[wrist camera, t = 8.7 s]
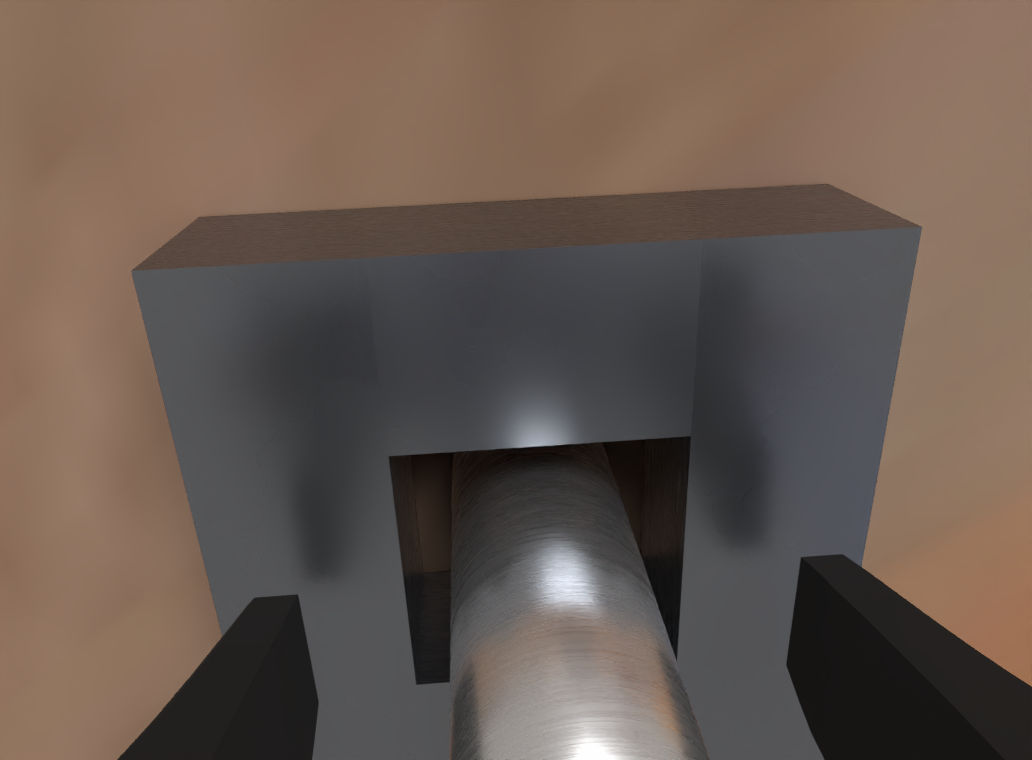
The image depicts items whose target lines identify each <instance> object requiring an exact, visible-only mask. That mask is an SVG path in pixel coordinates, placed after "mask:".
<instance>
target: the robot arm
mask: <svg viewBox="0 0 1032 760" xmlns="http://www.w3.org/2000/svg"><path fill="white" fill-rule="evenodd" d="M786 666H787V669H788V672H789V675H790V677H791V680H792V683H793V686H794V689H795V692H796V694H797V697H798V700H799V703H800V705H801V708H802V711H803V713H804V716H805V718H806V721H807V724H808V726H809V729H810V732H811V734H812V736H813V738H814V740H815V742H816V744H817V746H818V748H819V750H820V752H821V754H822V756H823V758H824V760H1032V687H1031V686H1030V685H1028V684H1027V683H1025V682H1024V681H1022V680H1020V679H1019V678H1017V677H1016V676H1014V675H1013V674H1011V673H1009V672H1008V671H1006V670H1005V669H1003V668H1002V667H1001V666H999V665H998V664H996V663H995V662H993V661H992V660H990V659H989V658H987V657H986V656H984V655H983V654H981V653H980V652H978V651H977V650H975V649H974V648H973V647H971V646H970V645H968V644H967V643H965V642H964V641H963V640H961V639H960V638H958V637H957V636H956V635H954V634H953V633H951V632H950V631H948V630H947V629H946V628H944V627H943V626H941V625H940V624H939V623H937V622H936V621H935V620H933V619H932V618H930V617H929V616H928V615H926V614H925V613H923V612H922V611H921V610H919V609H918V608H917V607H915V606H914V605H913V604H911V603H910V602H908V601H907V600H906V599H904V598H903V597H902V596H900V595H899V594H898V593H896V592H895V591H893V590H892V589H891V588H889V587H888V586H887V585H885V584H884V583H883V582H881V581H880V580H879V579H877V578H876V577H874V576H873V575H872V574H870V573H869V572H868V571H866V570H865V569H863V568H862V567H861V566H859V565H858V564H856V563H855V562H853V561H852V560H851V559H849V558H848V557H846V556H845V555H843V554H835V555H822V556H808V557H801V560H800V567H799V575H798V582H797V589H796V596H795V604H794V611H793V618H792V625H791V633H790V640H789V647H788V654H787V662H786ZM318 706H319V700H318V695H317V690H316V685H315V680H314V674H313V669H312V664H311V659H310V654H309V648H308V643H307V638H306V633H305V628H304V622H303V617H302V612H301V607H300V602H299V596H298V594H295V595H282V596H268V597H255V598H254V599H253V600H252V601H251V602H250V603H249V604H248V605H247V606H246V607H245V609H244V610H243V611H242V612H241V614H240V615H239V616H238V617H237V619H236V620H235V621H234V623H233V624H232V625H231V626H230V628H229V629H228V630H227V631H226V633H225V634H224V635H223V637H222V638H221V639H220V640H219V642H218V643H217V644H216V645H215V647H214V648H213V649H212V650H211V652H210V653H209V654H208V655H207V657H206V658H205V659H204V660H203V662H202V663H201V664H200V665H199V667H198V668H197V669H196V670H195V672H194V673H193V674H192V675H191V676H190V678H189V679H188V680H187V681H186V682H185V683H184V685H183V686H182V687H181V688H180V689H179V691H178V692H177V693H176V694H175V695H174V697H173V698H172V699H171V700H170V701H169V702H168V704H167V705H166V706H165V707H164V708H163V710H162V711H161V712H160V713H159V714H158V715H157V717H156V718H155V719H154V720H153V721H152V722H151V723H150V725H149V726H148V727H147V728H146V729H145V730H144V731H143V732H142V733H141V735H140V736H139V737H138V738H137V739H136V740H135V741H134V742H133V743H132V744H131V745H130V746H129V748H128V749H127V750H126V751H125V752H124V753H123V754H122V755H121V756H120V757H119V758H118V760H312V756H313V749H314V741H315V732H316V723H317V714H318Z"/></svg>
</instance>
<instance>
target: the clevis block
mask: <svg viewBox="0 0 1032 760" xmlns="http://www.w3.org/2000/svg"><path fill="white" fill-rule="evenodd" d="M921 229H922V227H921V226H918V225H916V224H914V223H912V222H910V221H908V220H905V219H903V218H901V217H899V216H897V215H895V214H892V213H890V212H888V211H886V210H884V209H881V208H879V207H877V206H875V205H873V204H871V203H868V202H866V201H864V200H862V199H860V198H858V197H855V196H853V195H851V194H849V193H847V192H845V191H842V190H840V189H838V188H836V187H834V186H831V185H829V184H819V185H800V186H781V187H762V188H743V189H724V190H705V191H686V192H667V193H648V194H629V195H610V196H591V197H572V198H553V199H534V200H515V201H496V202H477V203H458V204H439V205H420V206H401V207H382V208H363V209H344V210H325V211H306V212H287V213H268V214H249V215H230V216H211V217H199V218H197V219H196V220H195V221H194V222H192V223H191V224H190V225H189V226H187V227H186V228H185V229H184V230H182V231H181V232H180V233H178V234H177V235H176V236H175V237H173V238H172V239H171V240H170V241H168V242H167V243H166V244H165V245H163V246H162V247H161V248H160V249H158V250H157V251H156V252H154V253H153V254H152V255H151V256H149V257H148V258H147V259H146V260H144V261H143V262H142V263H141V264H139V265H138V266H137V267H135V268H134V269H133V270H132V271H131V272H132V276H133V280H134V284H135V288H136V292H137V296H138V300H139V304H140V308H141V312H142V316H143V320H144V324H145V328H146V332H147V336H148V340H149V344H150V348H151V352H152V356H153V360H154V364H155V368H156V372H157V376H158V380H159V384H160V388H161V392H162V396H163V400H164V404H165V408H166V412H167V416H168V420H169V424H170V428H171V432H172V436H173V440H174V444H175V448H176V452H177V456H178V460H179V464H180V468H181V472H182V476H183V480H184V484H185V488H186V492H187V496H188V500H189V504H190V508H191V512H192V516H193V520H194V524H195V528H196V532H197V536H198V540H199V544H200V548H201V552H202V556H203V560H204V564H205V568H206V572H207V576H208V580H209V584H210V588H211V592H212V596H213V600H214V604H215V608H216V612H217V616H218V620H219V624H220V628H221V632H222V636H223V635H224V634H225V633H226V631H227V630H228V629H229V628H230V626H231V625H232V624H233V623H234V621H235V620H236V619H237V617H238V616H239V615H240V614H241V612H242V611H243V610H244V609H245V607H246V606H247V605H248V604H249V603H250V602H251V601H252V600H253V599H254V598H255V597H268V596H282V595H295V594H298V596H299V602H300V607H301V612H302V617H303V622H304V628H305V633H306V638H307V643H308V648H309V654H310V659H311V664H312V669H313V674H314V680H315V685H316V690H317V695H318V700H319V706H318V714H317V723H316V732H315V741H314V749H313V756H312V760H449V720H450V625H451V571H442V572H429V573H423V568H422V559H421V549H420V540H419V531H418V522H417V512H416V503H415V494H414V485H413V475H412V466H411V457H410V455H416V454H431V453H446V452H461V451H476V450H491V449H506V448H521V447H536V446H551V445H566V444H581V443H596V442H611V441H626V440H641V439H645V444H644V473H643V502H642V532H641V558H642V560H643V563H644V566H645V569H646V572H647V575H648V578H649V581H650V584H651V587H652V590H653V593H654V596H655V599H656V602H657V605H658V608H659V611H660V614H661V616H662V619H663V622H664V625H665V628H666V631H667V634H668V637H669V640H670V643H671V646H672V649H673V652H674V655H675V658H676V661H677V664H678V667H679V669H680V672H681V675H682V678H683V681H684V684H685V687H686V690H687V693H688V696H689V699H690V702H691V705H692V708H693V711H694V714H695V717H696V720H697V722H698V725H699V728H700V731H701V734H702V737H703V740H704V743H705V746H706V749H707V752H708V755H709V758H710V760H824V758H823V756H822V754H821V752H820V750H819V748H818V746H817V744H816V742H815V740H814V738H813V736H812V734H811V732H810V729H809V726H808V724H807V721H806V718H805V716H804V713H803V711H802V708H801V705H800V703H799V700H798V697H797V694H796V692H795V689H794V686H793V683H792V680H791V677H790V675H789V672H788V669H787V666H786V662H787V654H788V647H789V640H790V633H791V625H792V618H793V611H794V604H795V596H796V589H797V582H798V575H799V567H800V560H801V557H808V556H822V555H835V554H843V555H845V556H846V557H848V558H849V559H851V560H852V561H853V562H855V563H856V564H858V565H859V566H862V560H863V554H864V549H865V543H866V538H867V532H868V526H869V521H870V515H871V510H872V504H873V498H874V493H875V487H876V482H877V476H878V470H879V465H880V459H881V453H882V448H883V442H884V437H885V431H886V425H887V420H888V414H889V409H890V403H891V397H892V392H893V386H894V381H895V375H896V369H897V364H898V358H899V352H900V347H901V341H902V336H903V330H904V324H905V319H906V313H907V308H908V302H909V296H910V291H911V285H912V280H913V274H914V268H915V263H916V257H917V251H918V246H919V240H920V235H921Z"/></svg>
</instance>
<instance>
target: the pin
mask: <svg viewBox="0 0 1032 760" xmlns="http://www.w3.org/2000/svg"><path fill="white" fill-rule="evenodd" d="M449 760H710V758H709V755H708V752H707V749H706V746H705V743H704V740H703V737H702V734H701V731H700V728H699V725H698V722H697V720H696V717H695V714H694V711H693V708H692V705H691V702H690V699H689V696H688V693H687V690H686V687H685V684H684V681H683V678H682V675H681V672H680V669H679V667H678V664H677V661H676V658H675V655H674V652H673V649H672V646H671V643H670V640H669V637H668V634H667V631H666V628H665V625H664V622H663V619H662V616H661V614H660V611H659V608H658V605H657V602H656V599H655V596H654V593H653V590H652V587H651V584H650V581H649V578H648V575H647V572H646V569H645V566H644V563H643V560H642V558H641V555H640V552H639V549H638V546H637V543H636V540H635V537H634V534H633V531H632V528H631V525H630V522H629V519H628V516H627V513H626V510H625V507H624V505H623V502H622V499H621V496H620V493H619V490H618V487H617V484H616V481H615V478H614V475H613V472H612V469H611V466H610V463H609V460H608V457H607V454H606V452H605V449H604V446H603V443H602V442H596V443H581V444H566V445H551V446H536V447H521V448H506V449H491V450H476V451H461V452H455V453H454V456H453V463H452V529H451V625H450V720H449Z"/></svg>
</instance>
